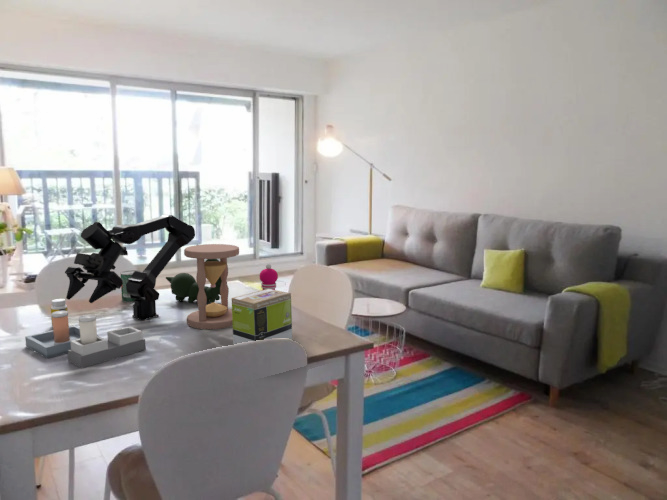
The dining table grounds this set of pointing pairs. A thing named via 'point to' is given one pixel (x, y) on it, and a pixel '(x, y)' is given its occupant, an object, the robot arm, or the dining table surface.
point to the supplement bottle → (58, 306)
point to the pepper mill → (268, 278)
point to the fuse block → (107, 347)
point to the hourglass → (212, 270)
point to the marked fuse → (60, 326)
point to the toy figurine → (192, 287)
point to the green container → (125, 295)
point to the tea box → (261, 316)
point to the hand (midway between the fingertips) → (78, 300)
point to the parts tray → (51, 343)
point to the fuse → (87, 329)
